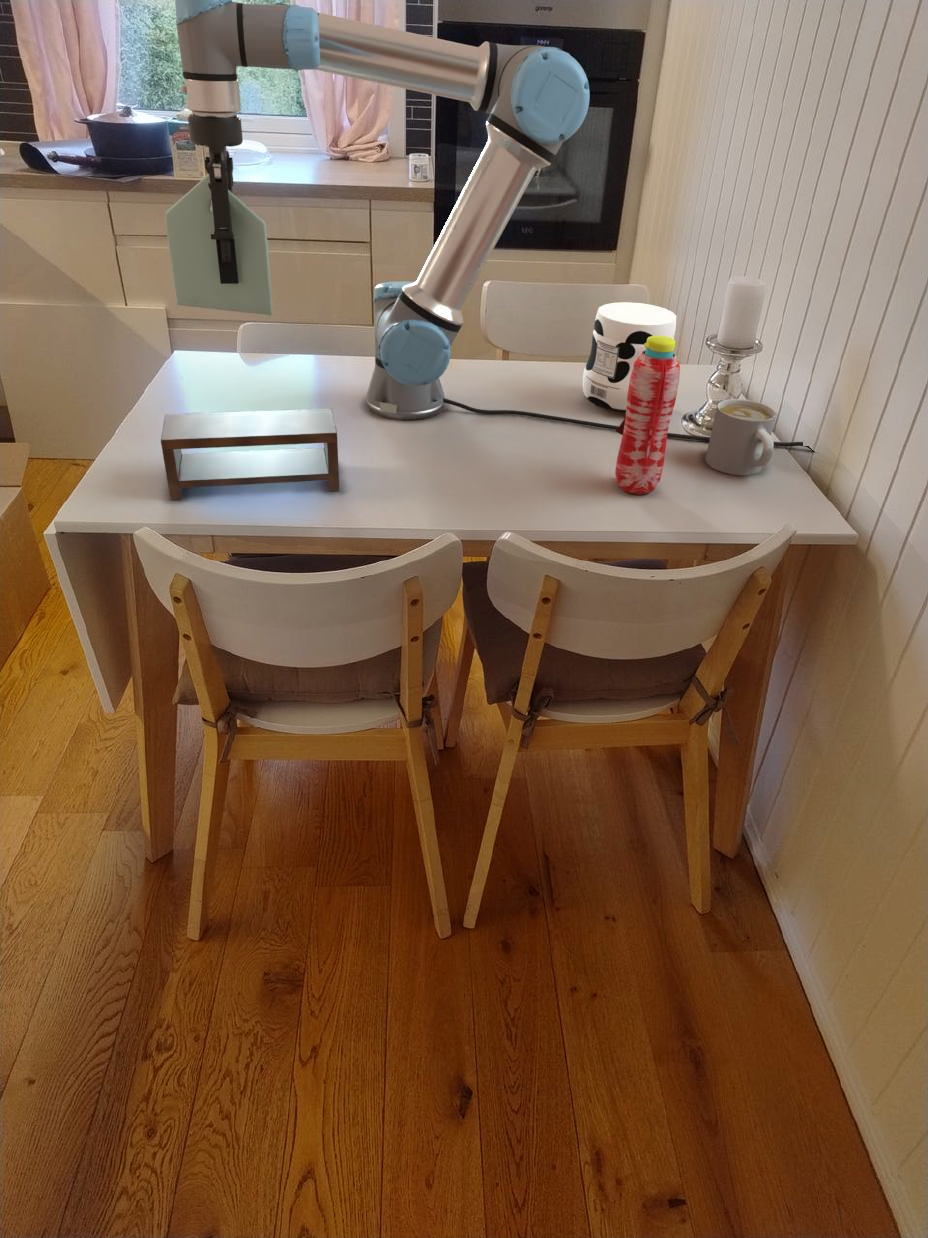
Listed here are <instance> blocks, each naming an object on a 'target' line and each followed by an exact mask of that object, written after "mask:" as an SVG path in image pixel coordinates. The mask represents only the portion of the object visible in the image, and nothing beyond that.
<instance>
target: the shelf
mask: <svg viewBox="0 0 928 1238" xmlns="http://www.w3.org/2000/svg"><path fill="white" fill-rule="evenodd" d="M307 444H308V445H309V444H323V447H309V448H285V449H283V448H282V449H265V450H261V449H260V450H241V451H240V450H239V451H238V450H237V451H220V452H219V451H217V452H216V451H215V452H194V453H193V452H192V453H183V452H182V450H191V449H192V450H194V449H216V448H217V449H219V448H237V447H239V448H240V447H259V446H260V447H261V446H284V445H287V446H288V445H307ZM160 446H161V451H162V457H163V458H162V459H163V463H164V469H165V475H166V476H165V477H166V483H167V486H168V487H167V488H168V493H169V498H170V501H181V500H182V497H183V489H188V488H190V489H191V488H208V487H209V488H210V487H225V486H226V487H227V486H228V487H229V486H245V485H247V486H249V485H267V484H286V483H289V484H290V483H306V482H307V483H308V482H324V481H325V482H326V481H327V486H328V490H329V492H330V493H332V492H333V493H334V492H340V490H341V489H340V468H339V446H338V431H337V425H336V422H335V416H334V412H333V408H306V409H305V408H303V409H279V410H275V409H274V410H248V411H222V412H219V411H218V412H196V413H195V412H194V413H193V412H192V413H191V412H190V413H166V414H164V420H163V426H162V431H161V436H160Z"/></svg>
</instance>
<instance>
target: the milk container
mask: <svg viewBox="0 0 928 1238" xmlns="http://www.w3.org/2000/svg"><path fill="white" fill-rule="evenodd" d="M676 328H677V315H676V314H675V313H674V312H673V311H671V310H669V309H667V308H665V307H661V306H658V305H654V304H649V303H642V302H629V301H621V302H619V301H618V302H611V303H605V304H603V305H600V306H599V307H598V309H597V312H596V314H595V319H594V325H593V331H592V338H591V348H590V354H589V357H588V360H587V362H586V364H585V366H584V369H583V374H582V391H583V395H584V397H585V398H586V400H588V401H589V402H590V403H592V404H593V405H594V406H596V407H598V408H601V409H604V410H608V411H612V412H617V413H623V414H626V406H627V394H628V388H629V382H630V377H631V374H632V370H633V365H634V362H635V361H636V360H637V358H638V357H639V356H640V355H641V354H642V352H643V351H645V350H646V348H645V347H644V343H646V342H647V338H648V337H650V336H659V335H660V336H667V337H670V338H673V339H674V340H675V334H676Z"/></svg>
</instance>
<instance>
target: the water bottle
mask: <svg viewBox="0 0 928 1238" xmlns="http://www.w3.org/2000/svg"><path fill="white" fill-rule="evenodd" d="M676 344H677V341H676V340H675V338H674V339H673V338H670V337H667V336H660V335H659V336H650V337H648V338H647V342H646V343H644V347H645V348H646V350H645V351H643V352H642V354H641V355H640V356H639V357H638V358H637V360H636V361H635V362H634V365H633V370H632V374H631V377H630V382H629V388H628V394H627V406H626V413H625V417H624V418H623V420H622V422H621V423H620V424H619V425H618V426H619V427H618V429H617V430H615V433H618V434H619V435H621V440H620V444H619V449H618V453H617V457H616V464H615V472H614V474H615V480H616V483H617V486H618V487H619V488H620V489H621V490H622V491H624V492H626V493H629V494H632V495H633V494H634V495H647V494H650V493H651V492H653V491H655V489H656V488H657V487H658V485H659V483H660V482H661V478H662V473H663V469H664V464H665V457H666V448H667V441H668V440H667V439H668V437H667V433H669V428H670V427H669V426H670V423H671V418H672V415H673V411H674V408H675V405H676V400H677V395H678V390H679V385H680V373H681V366H680V362H679V361H678V358H677V355H676V354H675V348H676Z"/></svg>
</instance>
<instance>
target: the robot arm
mask: <svg viewBox="0 0 928 1238" xmlns="http://www.w3.org/2000/svg"><path fill="white" fill-rule="evenodd" d="M174 5H175V6H174V7H175V18H176V20H175V25H176V31H177V39H178V46H179V54H180V62H181V70H182V77H183V83H184V85H180V88H179V91H180V93H181V94H186V96H185V102H186V109H187V110H188V111H190V112H191V113H190V114H189V115H188V117H187V123H188V131H189V139H190V142H191V143H192V144H194V145H196V146H201V147H207V148H208V155H209V156H205V159H204V168H205V172H206V173H207V174H209V177H210V183H209V182H208V186H209V189H210V190H211V197H212V200H211V206H212V211H213V218H214V229H215V231H214V234H211V240H216V246H217V255H218V264H219V273H220V283H221V284H238V283H239V282H238V272H237V261H236V251H235V241H234V238H233V237H234V234H233V232H232V220H231V210H230V202H229V193H228V190H229V191H230V192H231V193H232V194H233V190H234V189H233V186H234V174H233V173H234V160H233V157H230V153H229V150H227V147H237V146H240V145H242V144H243V141H244V140H243V138H244V137H243V129H242V118H240V116H239V115H237V113H240V111H241V102H240V101H241V99H240V88H239V80H238V74H237V67H243V68H248V67H251V68H264V69H277V70H279V69H280V70H293V71H295V72H299V71H303V70H304V71H305V70H307V71H308V70H310V71H311V70H312V71H313V70H314V71H319V72H323V73H328V74H333V75H338V76H342V77H347V78H352V79H356V80H357V79H358V80H362V81H365V82H371V83H376V84H381V85H385V86H390V87H395V88H399V89H405V90H410V91H415V92H420V93H423V94H428V95H433V96H438V97H442V98H447V99H452V100H456V101H457V100H458V101H461V102H467V103H469V104H470V106H471V107H472V109H473V111H476V112H481V113H485V114H489V116H488V117H487V120H486V121H485V126H486V131H487V142H486V144H485V146H484V148H483V150H482V152H481V154H480V155H479V158H478V159H477V162H476V164H475V166H474V167H473V170H472V172H471V174H470V175H469V177H468V178H467V179H468V180H467V181H466V183H465V185H464V187H463V189H462V191H461V193H460V195H459V197H458V199H457V201H456V203H455V205H454V207H453V209H452V211H451V213H450V215H449V217H448V219H447V221H446V222H445V225H444V226H443V229H442V230H441V232H440V235H439V237H438V238H437V240H436V242H435V244H434V246H433V248H432V250H431V252H430V254H429V256H428V258H427V260H426V261H425V263H424V266H423V268H422V270H421V271H420V273H419V276H418V277H417V280H416V281H385V282H381V283H378V284H377V285H376V286H375V287H374V293H373V299H372V302H373V303H374V304H373V305H374V306H373V308H374V310H373V311H374V312H373V313H374V315H373V316H374V367H373V371H372V375H371V378H370V381H369V384H368V388H367V391H366V396H365V403H366V404H365V405H366V408H367V409H368V411H369V412H371V413H373V414H375V415H377V416H380V417H382V418H387V419H393V420H398V421H399V420H401V421H414V420H415V421H416V420H424V419H428V418H432V417H435V416H437V415H438V414H441V413H442V411H443V410H444V409H445V404H448V405H451V406H454V407H458V408H461V409H464V410H466V411H469V412H472V413H475V414H482V415H516V416H524V417H530V418H531V417H532V418H536V419H537V418H538V419H543V420H551V421H556V422H557V421H558V422H562V423H563V422H564V423H570V424H577V425H581V426H589V427H595V428H601V429H607V430H615V431H616V430H617V429H618V427H619V426H620V425H613V424H607V423H599V422H593V421H587V420H581V419H575V418H568V417H563V416H557V415H550V414H542V413H537V412H530V411H524V410H514V409H513V410H512V409H493V410H492V409H481V408H475V407H472V406H469V405H466V404H464V403H461V402H458V401H455V400H451V399H448V398H446V397H445V393H444V390H443V386H442V383H441V378H440V377H442V376H443V374H444V373H445V372H446V370H447V368H448V366H449V363H450V360H451V354H452V349H451V347H452V345H453V343H454V341H455V340H456V338H457V335H458V334H459V332H460V330H461V329H462V326H463V325H464V322H465V321H464V317H463V312H462V308H463V306H464V304H465V302H466V300H467V298H468V296H469V295H470V293H471V291H472V289H473V287H474V286H475V283H476V282H477V280H478V278H479V276H480V274H481V273H482V270H483V269H484V267H485V265H486V263H487V261H488V260H489V258H490V255H491V254H492V252H493V251H494V249H495V247H496V245H497V243H498V242H499V240H500V238H501V236H502V234H503V232H504V230H505V228H506V226H507V225H508V223H509V221H510V219H511V217H512V215H513V214H514V212H515V210H516V208H517V206H518V205H519V203H520V201H521V199H522V197H523V195H524V193H525V191H526V190H527V188H528V186H529V184H530V183H531V180H532V179H533V177H534V175H535V173H536V172H537V171H538V170H540V169H544V168H546V167H551V165H552V162H553V161H554V159H555V157H556V155H557V153H558V151H559V150H560V148H561V146H562V144H563V142H565V141H567V140H568V139H570V138H571V137H572V136H573V135H574V134H575V133H577V131H578V130H579V129H580V127H581V126H582V125H583V123H584V120H585V119H586V117H587V115H588V110H589V106H590V100H591V99H590V94H591V93H590V84H589V80H588V77H587V74H586V72H585V71H584V68H583V67H582V65H581V64H580V63H579V62H578V61H577V59H576V58H574V57H573V56H571V53H569V52H566V51H564V50H563V49H561V48H559V47H556V46H555V47H554V46H543V45H538V44H530V45H512V44H502V43H495V42H490V41H484V42H482V44H481V45H479V46H474V45H469V44H464V43H459V42H455V41H450V40H445V39H441V38H436V37H434V36H433V37H432V36H428V35H423V34H418V33H414V32H410V31H405V30H401V29H395V28H391V27H386V26H382V25H377V24H373V23H369V22H363V21H359V20H354V19H350V18H345V17H340V16H337V15H332V14H329V13H328V14H327V13H324V12H317V10H316V9H314V8H313V7H309V6H308V7H307V6H301V5H298V4H291V5H290V4H286V3H281V2H275V3H271V4H267V3H265V4H264V3H243V2H237V1H233V0H174ZM207 174H206V175H207ZM219 228H227V229H219ZM667 438H671V439H672V438H673V439H682V440H691V441H702V442H709V440H710V436H701V435H691V434H682V433H681V434H680V433H674V432H673V433H672V432H668V433H667ZM803 442H804V441H790V442H788V441H785V442H783V441H773V443H774V447H785V448H786V447H789V448H790V447H805V448H807V449H809V450H810V451H811V452H812V453H815V452H814V451H813V450H812V449H811V448H810V447H809V446H803Z"/></svg>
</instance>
